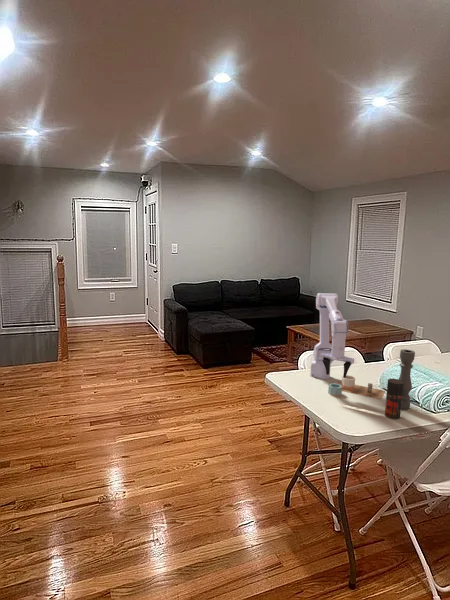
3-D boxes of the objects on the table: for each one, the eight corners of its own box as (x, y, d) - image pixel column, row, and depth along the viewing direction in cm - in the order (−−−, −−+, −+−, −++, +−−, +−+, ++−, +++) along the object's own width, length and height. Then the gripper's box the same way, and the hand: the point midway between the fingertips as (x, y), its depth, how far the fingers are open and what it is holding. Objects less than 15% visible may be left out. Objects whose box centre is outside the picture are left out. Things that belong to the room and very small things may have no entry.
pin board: (331, 391, 193) (332, 380, 192) (338, 383, 203) (339, 373, 202) (380, 402, 182) (381, 390, 181) (385, 393, 192) (386, 382, 191)
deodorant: (382, 412, 171) (385, 378, 168) (395, 412, 171) (399, 378, 169) (388, 419, 165) (392, 384, 162) (402, 419, 165) (406, 383, 163)
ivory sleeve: (340, 388, 194) (341, 378, 193) (343, 384, 199) (344, 374, 198) (352, 390, 191) (353, 380, 190) (355, 387, 196) (356, 377, 195)
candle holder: (409, 405, 179) (414, 350, 175) (410, 411, 173) (416, 354, 169) (393, 403, 181) (399, 348, 177) (394, 408, 175) (400, 352, 171)
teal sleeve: (326, 396, 186) (327, 386, 185) (330, 392, 191) (331, 382, 190) (339, 399, 183) (339, 388, 183) (342, 395, 188) (343, 385, 187)
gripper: (319, 346, 184) (317, 375, 186) (352, 351, 176) (350, 381, 179) (324, 342, 190) (322, 370, 192) (356, 347, 182) (354, 377, 184)
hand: (336, 375), depth 186 cm, fingers open, 7 cm apart
